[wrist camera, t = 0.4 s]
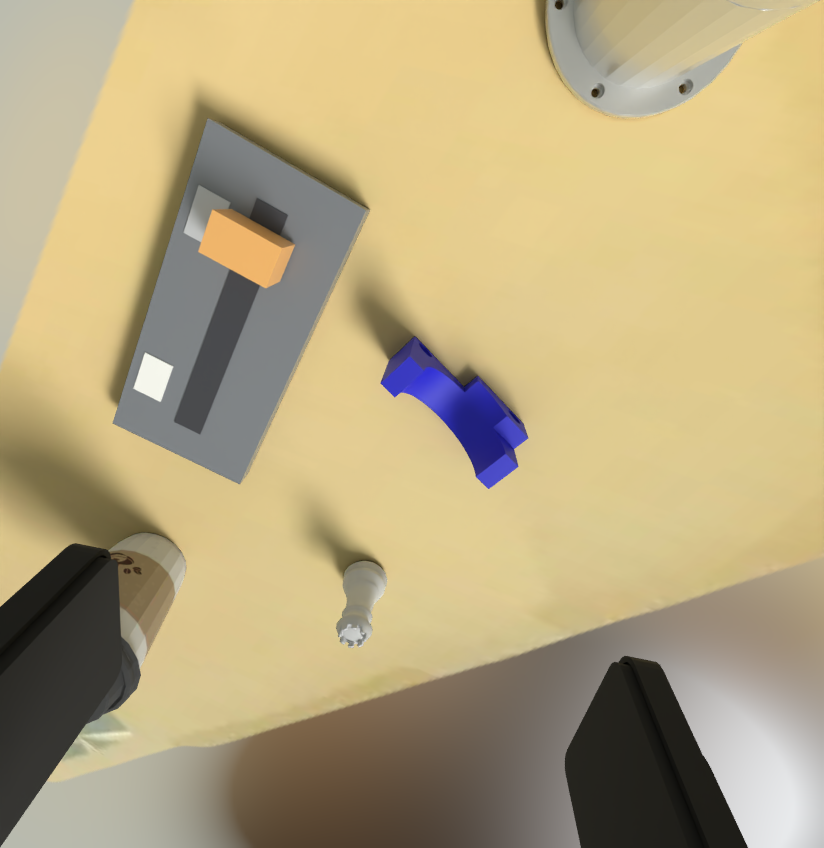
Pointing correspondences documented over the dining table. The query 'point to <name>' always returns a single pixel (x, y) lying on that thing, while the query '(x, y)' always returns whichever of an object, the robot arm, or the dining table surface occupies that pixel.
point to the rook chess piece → (360, 601)
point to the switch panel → (234, 307)
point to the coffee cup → (141, 605)
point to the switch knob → (246, 247)
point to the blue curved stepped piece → (460, 410)
